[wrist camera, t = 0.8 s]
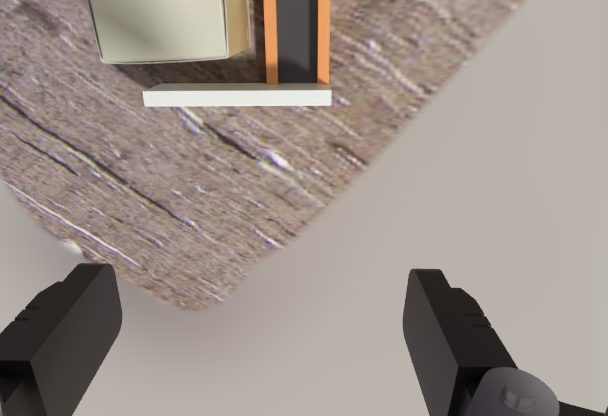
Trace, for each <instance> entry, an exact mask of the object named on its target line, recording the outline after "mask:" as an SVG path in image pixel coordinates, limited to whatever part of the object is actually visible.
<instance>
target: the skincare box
mask: <svg viewBox="0 0 608 416" xmlns="http://www.w3.org/2000/svg"><path fill="white" fill-rule="evenodd" d="M87 3H88V7H89V12H90V17H91V22H92V27H93V31H94V36H95V40H96V44H97V47H98V51H99V55H100V59H101V62H103V63H106V64H154V63H174V62H190V61H203V60H215V59H226V58H229V57H231V56H233V55H235V54H237V53H239V52H241V51H243V50H245V49H248V48H250V47H251V32H250V14H249V1H248V0H87Z"/></svg>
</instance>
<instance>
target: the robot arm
mask: <svg viewBox="0 0 608 416" xmlns="http://www.w3.org/2000/svg"><path fill="white" fill-rule="evenodd" d="M121 324H122V309H121V303H120V298H119V292H118V287H117V282H116V276H115V271H114V268H113V266H112V265H111V264H96V263H81V264H78V265H77V266H76V267H75V268H74V270H73V271H72V272H71V273H70V274H69V275H68V276H67V277H66V279H65V280H64V281H63V282H56V283H55V284H53V285H51V286H50V287H48V288H46V289H45V290H43V291H41V292H40V293H38V294H37V295H36V296H35V298H34V299H33V300H32V301H31V302H30V303H29V304H28V305H27V306H26V309H25V310H22V311H21V312H20V313H19V315H18V316H17V317H16V318H15V321H12V322H11V323H10V324H9V325H8V326H7V327H6V328H5V329H4V330H3V332H1V334H0V416H72V414H73V413H74V411H75V409H76V408H77V406H78V404H79V402H80V401H81V399H82V397H83V395H84V394H85V392H86V390H87V388H88V387H89V385H90V383H91V381H92V380H93V378H94V376H95V374H96V373H97V371H98V369H99V367H100V365H101V364H102V362H103V360H104V359H105V357H106V355H107V353H108V352H109V350H110V348H111V346H112V345H113V343H114V341H115V339H116V338H117V336H118V334H119V331H120V328H121ZM403 332H404V337H405V341H406V344H407V347H408V350H409V353H410V356H411V359H412V363H413V366H414V369H415V372H416V375H417V378H418V381H419V384H420V387H421V390H422V393H423V396H424V399H425V402H426V406H427V408H428V412H429V415H430V416H608V407H607V409H606V412H605V414H604V413H600V412H596V411H592V410H589V409H585V408H581V407H577V406H573V405H570V404H566V403H563V402H560V401H558V400H557V397H556V396H555V394H554V393H553V391H552V390H551V389H550V388H549V387H548V386H547V385H546V384H545V383H544V382H542V381H541V380H540V379H538V378H536V377H535V376H533V375H531V374H529V373H527V372H525V371H522V370H519V369H518V368H517V366H516V364H515V363H514V361H513V360H512V358H511V356H510V355H509V353H508V352H507V350H506V348H505V347H504V345H503V343H502V342H501V340H500V339H499V337H498V335H497V334H496V332H495V330H494V329H493V328H491V324H490V322H489V321H488V319H487V317H484V313H483V311H482V309H481V308H480V306H479V305H478V303H477V301H476V300H475V299H474V298H472V297H471V296H470V295H469V294H467V293H466V292H465V291H464V290H462V289H461V288H451V287H450V286H449V284H448V282H447V280H446V278H445V276H444V274H443V273H442V271H441V270H440V269H412V270H411V271H410V273H409V278H408V285H407V292H406V299H405V306H404V313H403Z"/></svg>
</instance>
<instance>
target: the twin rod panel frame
mask: <svg viewBox="0 0 608 416" xmlns="http://www.w3.org/2000/svg"><path fill="white" fill-rule="evenodd" d="M264 23H265V49H266V76H267V83H162V84H159V85H156V86H154V87H151V88H149V89H147V90H144V91H143V98H144V104H145V106H323V105H331V88H330V86H329V41H330V0H264Z"/></svg>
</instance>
